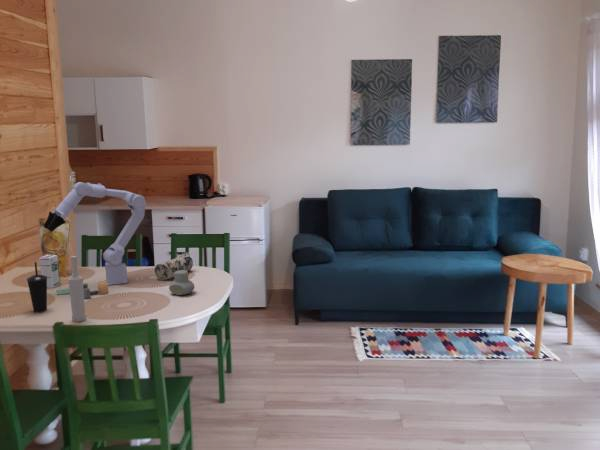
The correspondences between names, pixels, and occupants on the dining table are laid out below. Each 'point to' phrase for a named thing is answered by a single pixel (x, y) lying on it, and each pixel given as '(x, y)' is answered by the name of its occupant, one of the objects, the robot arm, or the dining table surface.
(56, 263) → the syrup box
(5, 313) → the dining table surface
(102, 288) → the plug
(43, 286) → the drinking cup
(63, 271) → the pancake mix bag
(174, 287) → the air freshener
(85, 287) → the channel
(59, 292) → the mat
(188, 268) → the pencil case
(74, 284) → the bottle
